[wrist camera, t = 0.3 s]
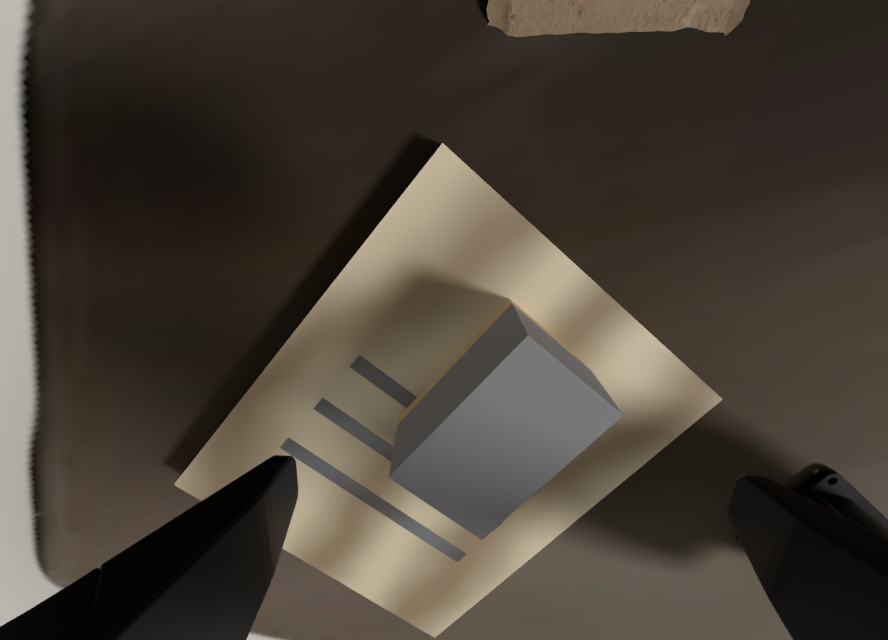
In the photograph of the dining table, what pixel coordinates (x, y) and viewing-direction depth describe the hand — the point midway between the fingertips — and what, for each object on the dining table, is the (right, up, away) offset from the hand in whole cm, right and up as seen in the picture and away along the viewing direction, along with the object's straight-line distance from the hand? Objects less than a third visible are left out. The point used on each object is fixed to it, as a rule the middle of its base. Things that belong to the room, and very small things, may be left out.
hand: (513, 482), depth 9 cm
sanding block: (+1, 0, +12) cm, 12 cm away
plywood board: (-2, -3, +14) cm, 15 cm away
